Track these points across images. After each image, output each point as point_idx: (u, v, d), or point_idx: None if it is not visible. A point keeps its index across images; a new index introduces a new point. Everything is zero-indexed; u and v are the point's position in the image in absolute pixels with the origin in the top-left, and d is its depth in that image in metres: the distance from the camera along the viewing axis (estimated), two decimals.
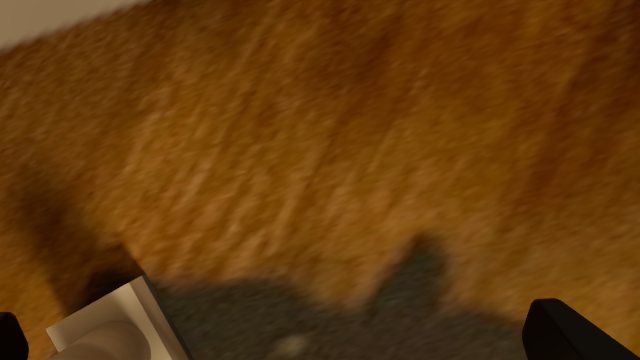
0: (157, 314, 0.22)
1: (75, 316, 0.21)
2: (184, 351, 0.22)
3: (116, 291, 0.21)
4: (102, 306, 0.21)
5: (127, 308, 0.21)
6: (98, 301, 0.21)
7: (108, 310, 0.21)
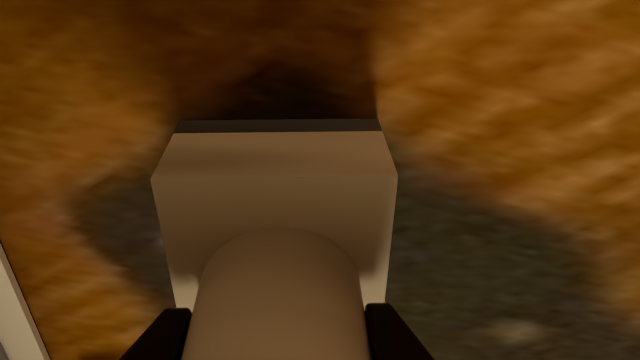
0: None
1: (235, 186, 0.08)
2: None
3: (359, 180, 0.08)
4: (308, 194, 0.08)
5: (359, 223, 0.08)
6: (304, 179, 0.08)
7: (316, 207, 0.08)
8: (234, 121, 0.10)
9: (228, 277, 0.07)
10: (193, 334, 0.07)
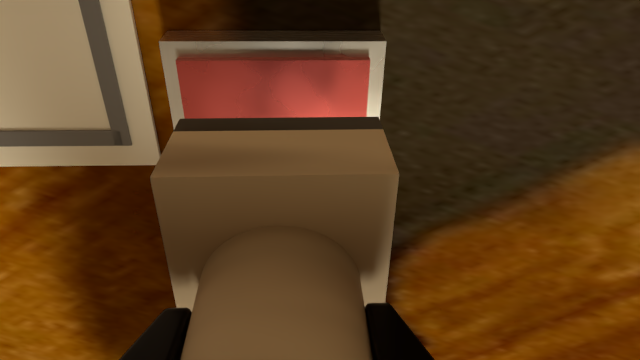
0: None
1: (235, 184, 0.08)
2: None
3: (360, 178, 0.08)
4: (308, 192, 0.08)
5: (360, 222, 0.08)
6: (305, 177, 0.08)
7: (316, 206, 0.08)
8: (233, 119, 0.10)
9: (228, 276, 0.07)
10: (193, 333, 0.07)
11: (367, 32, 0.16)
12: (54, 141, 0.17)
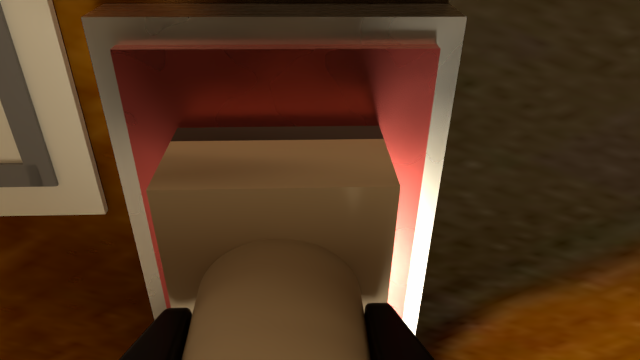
0: None
1: (233, 197, 0.08)
2: None
3: (360, 191, 0.08)
4: (308, 204, 0.08)
5: (361, 234, 0.08)
6: (304, 190, 0.08)
7: (316, 219, 0.08)
8: (232, 129, 0.09)
9: (226, 291, 0.07)
10: (189, 351, 0.07)
11: (429, 5, 0.10)
12: None
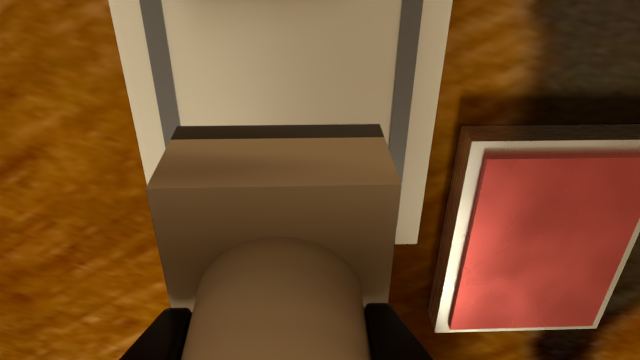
0: None
1: (233, 195, 0.08)
2: None
3: (361, 189, 0.08)
4: (308, 203, 0.08)
5: (361, 233, 0.08)
6: (305, 188, 0.08)
7: (317, 217, 0.08)
8: (232, 127, 0.09)
9: (226, 289, 0.07)
10: (189, 349, 0.07)
11: None
12: None
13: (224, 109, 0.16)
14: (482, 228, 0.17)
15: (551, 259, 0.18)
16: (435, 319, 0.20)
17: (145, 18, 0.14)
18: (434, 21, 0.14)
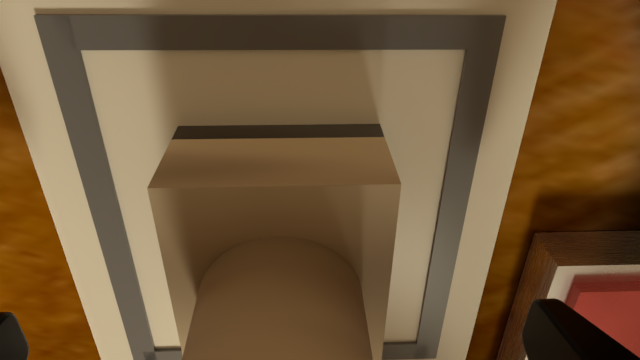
0: None
1: (234, 194, 0.08)
2: None
3: (361, 189, 0.08)
4: (308, 202, 0.08)
5: (361, 232, 0.08)
6: (305, 188, 0.08)
7: (317, 216, 0.08)
8: (233, 127, 0.10)
9: (227, 289, 0.07)
10: (191, 348, 0.07)
11: None
12: None
13: None
14: None
15: None
16: None
17: (62, 93, 0.09)
18: (509, 95, 0.09)
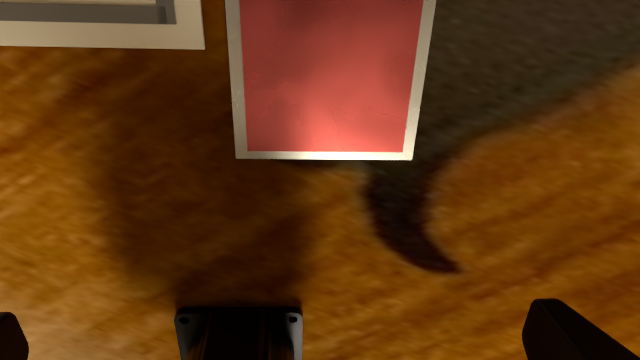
0: None
1: None
2: None
3: None
4: None
5: None
6: None
7: None
8: None
9: None
10: None
11: None
12: (96, 18, 0.17)
13: None
14: (251, 10, 0.16)
15: (337, 58, 0.17)
16: (235, 141, 0.19)
17: None
18: None
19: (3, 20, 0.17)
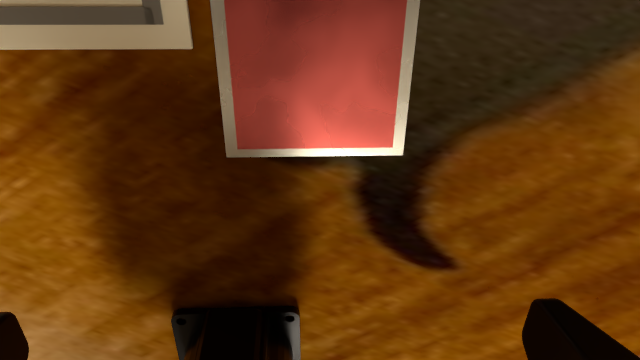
0: None
1: None
2: None
3: None
4: None
5: None
6: None
7: None
8: None
9: None
10: None
11: None
12: (84, 20, 0.17)
13: None
14: (236, 8, 0.16)
15: (324, 53, 0.17)
16: (225, 140, 0.19)
17: None
18: None
19: None
